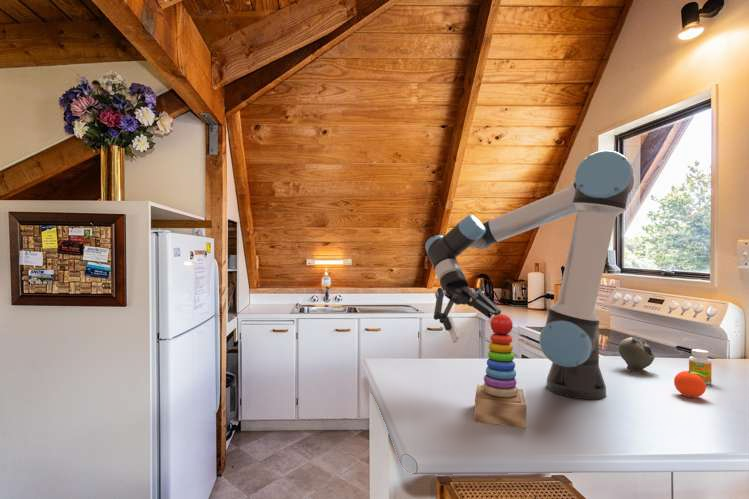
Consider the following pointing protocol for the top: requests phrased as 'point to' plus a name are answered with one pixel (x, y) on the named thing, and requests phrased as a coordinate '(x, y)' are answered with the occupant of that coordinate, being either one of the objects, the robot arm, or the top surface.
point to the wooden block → (500, 408)
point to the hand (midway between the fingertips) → (479, 338)
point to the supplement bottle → (700, 364)
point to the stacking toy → (500, 360)
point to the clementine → (690, 384)
